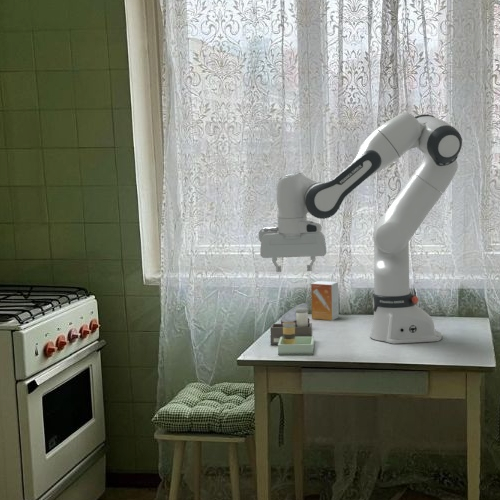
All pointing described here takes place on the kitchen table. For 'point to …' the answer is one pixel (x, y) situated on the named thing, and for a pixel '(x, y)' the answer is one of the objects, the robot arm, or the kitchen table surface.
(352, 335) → the kitchen table surface
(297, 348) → the parts tray
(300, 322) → the cylinder
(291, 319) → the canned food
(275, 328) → the fuse block
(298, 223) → the robot arm
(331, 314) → the small box
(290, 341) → the fuse
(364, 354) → the kitchen table surface
